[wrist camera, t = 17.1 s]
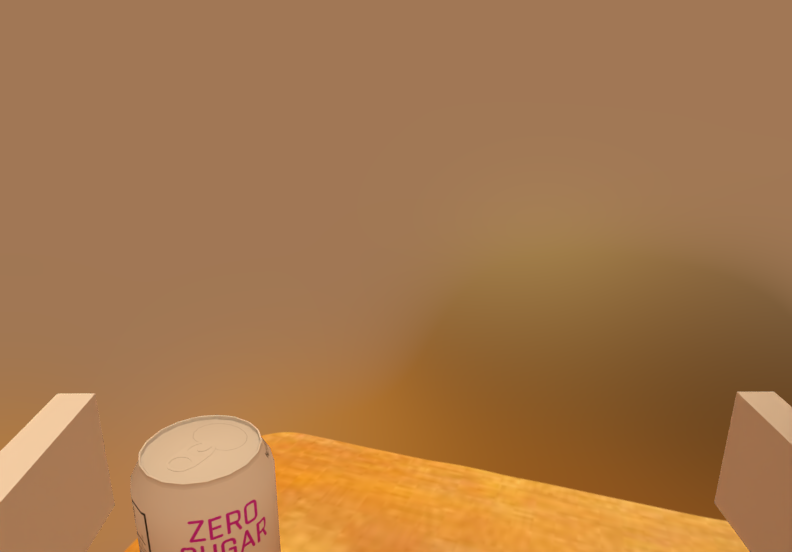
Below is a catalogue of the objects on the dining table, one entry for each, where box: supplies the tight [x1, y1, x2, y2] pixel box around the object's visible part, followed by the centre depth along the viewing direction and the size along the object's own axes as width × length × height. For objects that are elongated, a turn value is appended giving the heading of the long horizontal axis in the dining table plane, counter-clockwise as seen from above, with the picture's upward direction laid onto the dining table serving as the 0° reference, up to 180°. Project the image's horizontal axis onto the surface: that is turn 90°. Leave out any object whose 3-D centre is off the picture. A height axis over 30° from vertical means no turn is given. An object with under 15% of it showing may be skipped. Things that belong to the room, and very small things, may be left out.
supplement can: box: [130, 415, 281, 552], centre depth 39 cm, size 8×8×15 cm
